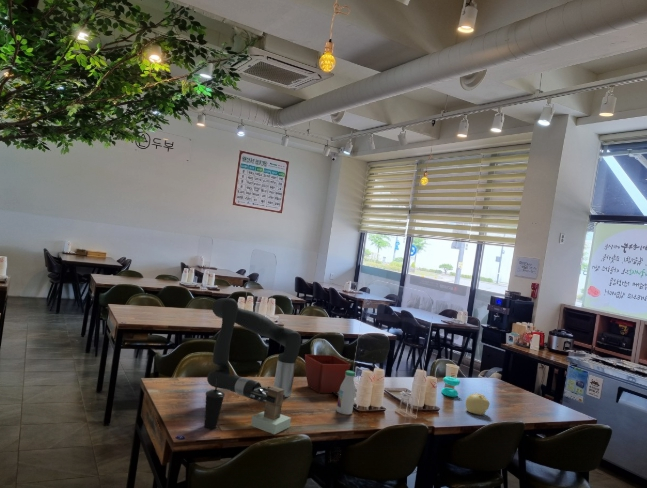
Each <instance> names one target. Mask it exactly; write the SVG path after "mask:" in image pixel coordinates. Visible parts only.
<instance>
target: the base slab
mask: <svg viewBox="0 0 647 488" xmlns="http://www.w3.org/2000/svg"><path fill="white" fill-rule="evenodd" d="M291 421H292V417H290V416H287V415H284V414H282V413H281V414H280V418H277V419H275V420H272V419H269V418H266V417H264V411H261V412H259V413H257V414H254V415H252V416H251V420H250V422H251V423H250V426H251V427H254V428H256V429H259V430H260V431H261V430H262V431H264V432H266V433H269V434H272V435H276V434H278V433H281V432H282V431H284V430H286V429H289V428H290V427H291Z"/></svg>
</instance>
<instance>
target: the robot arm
mask: <svg viewBox="0 0 647 488" xmlns="http://www.w3.org/2000/svg"><path fill="white" fill-rule="evenodd" d="M211 309H212V313H213V314H214V315H215V316H216V317H217V318H219V319H221V320H222V321H221V328H220V330H219V333H218V336H217V338H216V339H215V342H214V346H213V354H212V363H213V364H214V365H216V369H217V370H216V369H214V370H211V371H209V373H208V374H207V377H206V380H207V383H208V384H209V385H210V386H211V387H213V388H215V387H216V380H217V378H218V385H217V389H223V390H227V391H229V392H230V391H231V392H233V393H235V394H237V395H239V396H242V397H244V398H249V399H251V400H255V401H258V402H261V403H262V402H266V401H269V402H271V403H275V400H276V398H275V397H272V396H269V395H268V396H267V392H268V388H271V387H272V386H267V387H265V386H262V385H261V383H260V382H259V381H256V380H253V379H250V378H246V377H242V376H240V375H236V374H231V372H230V364H229V356H230V347H231V341H232V336H233V332H234V331H233V330H234V328H235V327H234V326H235V324H236V325H238V326H240V327H242V328H244V329H246V330H248V331H250V332H251V333H254V334H256V335H259V336H261V337H265V338H270V339H271V340H273V341H274V342H277V344H280V345H281V346H282V347H284V350H283V352H281V353H279V354H278V357H277V362H276V363H277V364H276V369H275V374H274V381H273V382H274V383H273V387H274V386H275V387H278V388H281V389H284V394H283V400H284V399H285V398H288V397H290V396H291V395H292V393H293V392H292V390H293V384H294V378H295V376H294V374H295V367H296V361H297V359H298V356H299V354H300V349H301V345H302V344H301V343H302V336H301V334H300V333H299V332H298V331H296V330H293V329H290V328H288V327H284V326H282V325H278V324H276V323H275V322H274V321H272V320H271V319H270V318H268V317H267V316H264V315H263V314H260V313H259V312H256V311H255V312H254V311H252V310H248V309H244V308H241V307H239V305H238V302H237V301H236V300H235V299H234V298H230V297H222V298H217V299H215V300H214V302H213V303H212V305H211Z"/></svg>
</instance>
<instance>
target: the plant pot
mask: <svg viewBox="0 0 647 488" xmlns="http://www.w3.org/2000/svg"><path fill="white" fill-rule="evenodd" d="M304 368H305V370H304V371H305V377H306V378H305V379H306V383H307V387H309V388H310V389H312V391H313V390H314V391H315V392H317V393H318V394H333V393H332V392H338V391H340V386H341V384H342V382H343V381H344V379H345V373H346V371H350V368H351V363H349V362H347V361H345V360H343V359H341V358H340V357H337V356H335V355H333V354H332V355H331V354H330V355H327V354H304ZM338 393H339V392H338Z"/></svg>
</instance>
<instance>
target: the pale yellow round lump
mask: <svg viewBox="0 0 647 488" xmlns="http://www.w3.org/2000/svg"><path fill="white" fill-rule="evenodd" d="M464 406H465V408H466V410H467V412H469V413H471V414H474V415H479V416H483V415H484V414H485V413H487V410H488V409H490V401H489V399H487V398H486V397H485V395H484V394H483V393H481V394H480V393H477V392H475V393H472V394H470V395H468V396H467V398H466V399H465V405H464Z"/></svg>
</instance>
